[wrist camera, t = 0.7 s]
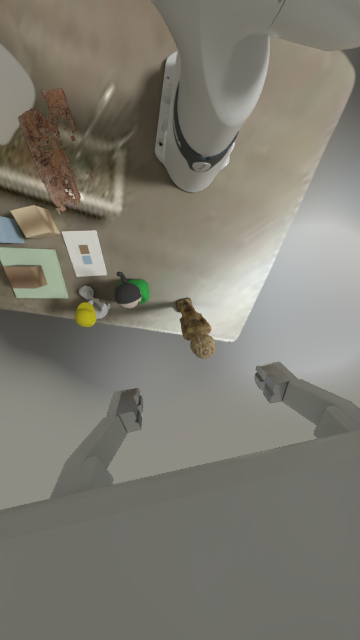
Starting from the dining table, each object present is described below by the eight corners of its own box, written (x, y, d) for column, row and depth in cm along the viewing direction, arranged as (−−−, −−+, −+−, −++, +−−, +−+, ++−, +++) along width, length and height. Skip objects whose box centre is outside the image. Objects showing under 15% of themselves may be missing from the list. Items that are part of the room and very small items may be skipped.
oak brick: (27, 214, 39) (10, 210, 34) (48, 210, 39) (33, 205, 34) (40, 238, 41) (26, 237, 37) (60, 233, 41) (48, 232, 37)
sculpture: (177, 313, 56) (193, 373, 29) (172, 298, 53) (186, 349, 26) (194, 308, 56) (227, 364, 29) (190, 292, 53) (223, 338, 26)
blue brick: (-9, 217, 38) (-31, 214, 34) (16, 219, 39) (-3, 215, 34) (2, 242, 40) (-18, 241, 36) (24, 243, 41) (8, 242, 37)
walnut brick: (19, 264, 42) (3, 266, 38) (41, 265, 43) (27, 267, 38) (27, 284, 45) (12, 288, 40) (47, 284, 45) (35, 288, 41)
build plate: (-2, 247, 41) (-6, 247, 40) (55, 249, 43) (52, 249, 42) (19, 296, 47) (16, 297, 46) (68, 297, 49) (66, 298, 48)
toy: (124, 301, 52) (113, 320, 38) (113, 268, 47) (95, 276, 33) (152, 296, 52) (150, 313, 39) (144, 262, 47) (138, 268, 34)
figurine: (108, 281, 48) (89, 294, 35) (117, 307, 52) (103, 328, 39) (76, 286, 48) (44, 301, 34) (88, 312, 52) (63, 335, 38)
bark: (5, 99, 31) (2, 96, 30) (61, 87, 31) (60, 85, 30) (64, 222, 41) (63, 222, 40) (106, 213, 41) (106, 212, 40)
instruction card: (61, 231, 41) (61, 231, 41) (96, 230, 42) (95, 230, 42) (76, 276, 46) (76, 276, 46) (107, 274, 47) (106, 274, 47)
